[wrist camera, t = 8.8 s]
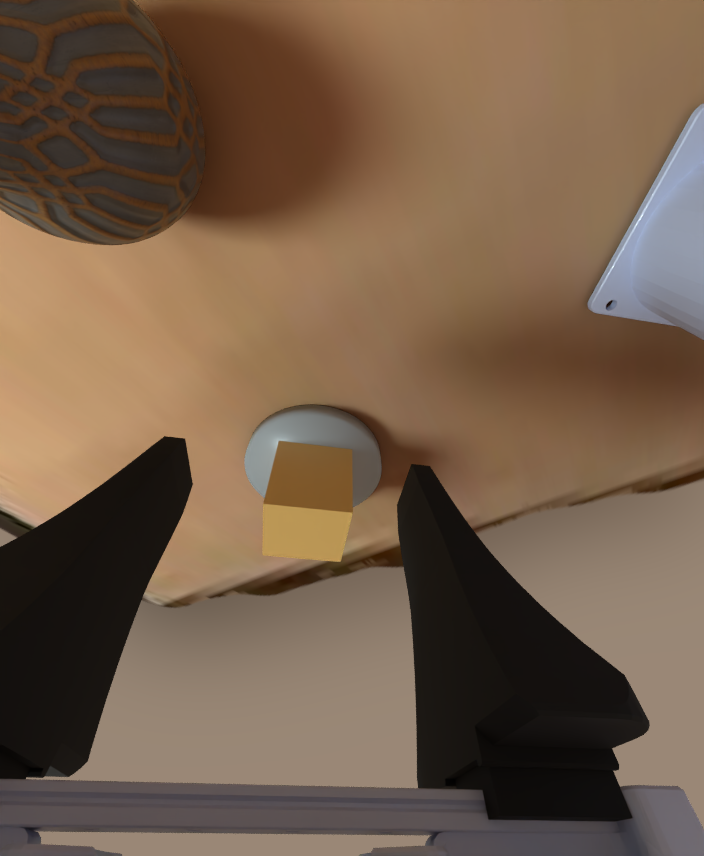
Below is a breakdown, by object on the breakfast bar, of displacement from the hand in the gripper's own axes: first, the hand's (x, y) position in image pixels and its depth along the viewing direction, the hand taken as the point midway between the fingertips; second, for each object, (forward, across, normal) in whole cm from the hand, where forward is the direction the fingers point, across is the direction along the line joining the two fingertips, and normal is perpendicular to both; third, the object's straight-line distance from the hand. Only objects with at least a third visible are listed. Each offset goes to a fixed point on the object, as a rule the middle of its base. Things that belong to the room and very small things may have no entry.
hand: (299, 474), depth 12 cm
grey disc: (+10, 0, +8) cm, 13 cm away
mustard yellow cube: (+9, 0, +8) cm, 12 cm away
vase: (+10, +8, -8) cm, 15 cm away
